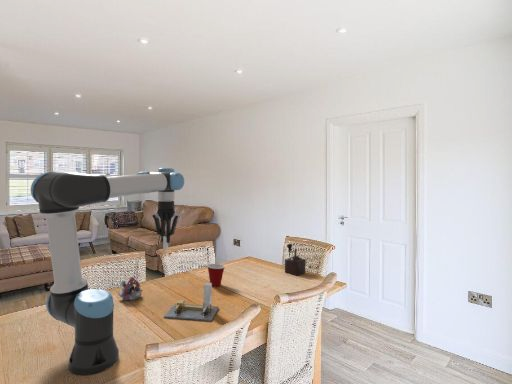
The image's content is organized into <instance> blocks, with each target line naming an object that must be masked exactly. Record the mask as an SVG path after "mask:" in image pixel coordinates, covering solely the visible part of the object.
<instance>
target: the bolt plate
mask: <svg viewBox="0 0 512 384" xmlns="http://www.w3.org/2000/svg"><path fill="white" fill-rule="evenodd" d="M176 304H177V303H174V304H173V305H172V306H171V307H170V309H168V311H166V312H165V314H164V315H163V318H164V319H176V320H190V321H202V322H212V321H213V320H214V318H215V316H216V314H217V313H218V311H219V308H220V306H213V305H212V307H213V310H212V311H209V312H206V314H204V312H203V310H191V309H182V310H178V312H177V310H175V305H176ZM185 305H191V306H203V304H202V305H200V304H186V303H185Z"/></svg>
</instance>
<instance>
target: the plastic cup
mask: <svg viewBox="0 0 512 384" xmlns="http://www.w3.org/2000/svg"><path fill="white" fill-rule="evenodd" d="M206 267H207V271H208V279H209V283H212V288H218V287H220V286H221V284H222V279H223V275H224V270H225V268H226V265H224V264H222V263H209V264H208V263H207V265H206Z"/></svg>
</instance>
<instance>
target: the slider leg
mask: <svg viewBox="0 0 512 384" xmlns="http://www.w3.org/2000/svg"><path fill="white" fill-rule="evenodd" d="M212 288H213V287H212V283H210V282H204V284H203V302H202V306H203V312H204V314H206V312H209V311H210V307H212V306H213V305H212V304H213V301H212V300H213V299H212V294H213V293H212V290H213V289H212Z"/></svg>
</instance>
